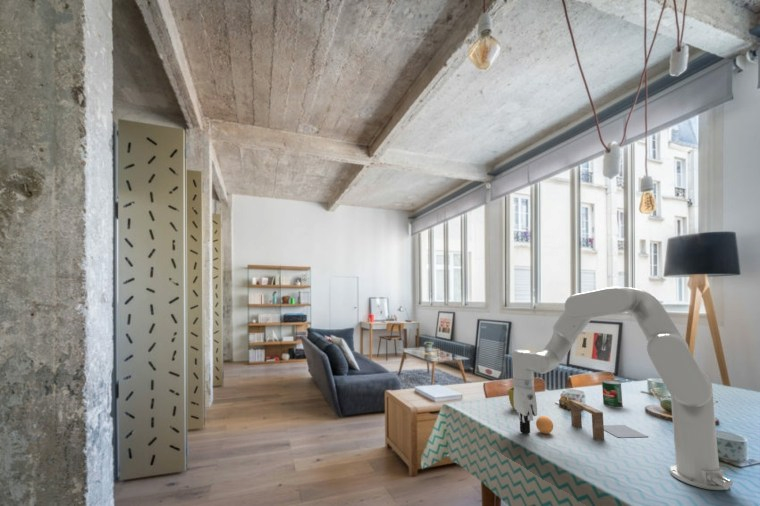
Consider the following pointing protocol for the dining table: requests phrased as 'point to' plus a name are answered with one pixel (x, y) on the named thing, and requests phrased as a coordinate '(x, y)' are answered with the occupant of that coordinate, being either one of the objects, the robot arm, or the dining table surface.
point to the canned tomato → (612, 393)
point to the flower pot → (511, 396)
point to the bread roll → (565, 403)
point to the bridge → (596, 418)
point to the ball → (544, 424)
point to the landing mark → (622, 431)
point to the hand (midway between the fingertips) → (525, 432)
